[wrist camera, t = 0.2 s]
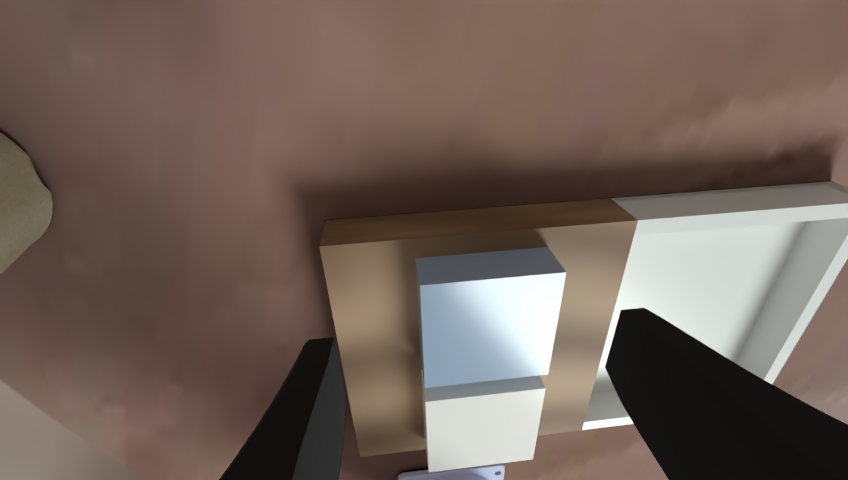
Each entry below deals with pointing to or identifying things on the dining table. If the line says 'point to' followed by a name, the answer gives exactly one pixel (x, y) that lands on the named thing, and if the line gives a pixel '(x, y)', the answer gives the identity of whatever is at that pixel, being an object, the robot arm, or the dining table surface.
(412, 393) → the board
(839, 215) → the tray
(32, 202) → the flower pot
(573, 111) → the dining table surface
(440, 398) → the tile white
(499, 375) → the tile blue
